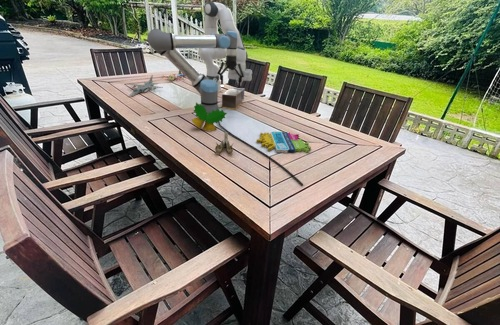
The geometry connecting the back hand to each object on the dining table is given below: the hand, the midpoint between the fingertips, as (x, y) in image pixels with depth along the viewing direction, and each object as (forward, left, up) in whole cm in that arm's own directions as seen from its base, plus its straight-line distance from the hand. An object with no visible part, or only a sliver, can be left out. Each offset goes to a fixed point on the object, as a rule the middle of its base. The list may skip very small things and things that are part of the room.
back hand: (239, 85), depth 222 cm
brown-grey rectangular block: (+16, -13, -12) cm, 23 cm away
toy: (-87, -35, -12) cm, 95 cm away
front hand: (+20, -17, +5) cm, 27 cm away
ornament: (+57, -45, -12) cm, 74 cm away
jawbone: (+90, -48, -12) cm, 103 cm away
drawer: (+6, -5, -11) cm, 13 cm away
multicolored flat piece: (+91, -12, -12) cm, 92 cm away
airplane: (-41, -73, -12) cm, 84 cm away
